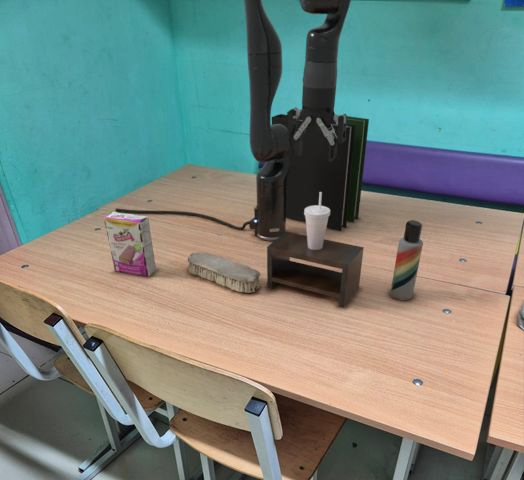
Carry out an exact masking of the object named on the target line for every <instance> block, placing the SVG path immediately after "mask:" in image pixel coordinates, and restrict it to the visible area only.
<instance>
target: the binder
mask: <svg viewBox="0 0 524 480" xmlns="http://www.w3.org/2000/svg"><path fill="white" fill-rule="evenodd" d="M297 109H298V108H297ZM298 110H300V109H298ZM286 113H287V114H285V113H279V114H276V115H273V116H271V125H274V124H281V125H283V126H285V127H286V128H287V129H288V117H289V110H288V111H287V112H286ZM369 121H370V119H369V118H364V117H356V116H350V115H347V126H346V140H345V141H344V142H342V143H341V144H337V153H336V157H335V158H334V159H333V160H332V161H328V151H329V145H330V143H329V141H328V139H327V138H326V137H325V136H324V134H323V132H322V133H317V132H315V131H313V132H309V130H307V131H306V132H305V133H304V135H303V136H302V139H303V146H302V154H301V155H300V156H296V153H295V152H294V142H295V140H294V138H293V137H291V136H290V139H291V155H290V169H289V173H288V176H287V185H286V219H288V220H293V221H295V222H296V221H297V222H301V223H304V224H306V216H305V215H304V209H305V208H306V207H309V206H314V205H319V192H322V198H321V206H325V207H327V208H329V209H330V216H329V217H328V222H327V227H326V229H329V230H334V231H338V232H342V228H344V229H346V228H347V222H350V223H354V222H355V219H356V220H358V219H359V217H360V216H359V213H360V205H361V196H362V187H363V178H364V170H365V159H366V151H367V150H366V149H367V142H368V132H369V123H370V122H369ZM302 124H303V121H302V119H301V117H300V116H299V118H298V119H297V126H296V131H298V129H299V128H300V126H301V125H302ZM332 126H333V128H334V130H335V134H336V136H337V132H338V125H336V121H335V120H334V121H333V122H332Z"/></svg>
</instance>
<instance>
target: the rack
mask: <svg viewBox="0 0 524 480" xmlns="http://www.w3.org/2000/svg"><path fill="white" fill-rule="evenodd" d="M364 250H365V249H364V246H360V245H354V244H350V243H344V242H340V241H335V240H331V239H330V240H329V239H325V238H324V242H323V247H322V249H319V250H312V249H309V248H308V241H307V234H301V233H296V232H290V231H287V230H286V232H285V233H284V234H282V235H281V236H280V237H279V238H277V239H276V240H275V241H271V243H270V244H268V245H267V246H266V287H267V289H270V290H272V289H274V288H275V287H276V286H277V285H278V284H281V285H285V286H289V287H294V288H297V289H301V290H304V291H309V292H313V293H318V294H321V295H325V296H328V297H331V298H332V297H333V298H337V299H339V300H338V303H339V304H338V307H339V308H343V309H344V308H346V307H347V305H348V303H349V302H350V301H351V299H352V298H353V297H354V296H355V294H356V293H357V292H358V291H359V289H360V284H361V283H360V281H361V273H362V265H363V257H364ZM291 259H296V260H300V261H304V262H309V263H312V264H318V265H321V266H322V265H323V266H326V267H331V268H336V269H340V270H341V271H337V270H333V269H329V268H324V267H319V266H316V265H312V264H307V263H302V262H298V261H294V260H291Z"/></svg>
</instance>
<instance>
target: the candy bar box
mask: <svg viewBox="0 0 524 480" xmlns="http://www.w3.org/2000/svg"><path fill="white" fill-rule="evenodd" d="M103 221H104V226H105V231H106V236H107V239H108V240H107V241H108V244H109V250H110V254H111V258H112V259H111V260H112V263H113V269H114V272H116V273H121V274H126V275H127V274H128V275H134V276H138V277H139V276H140V277H146V278H149V277H151V275H153V274H154V273H155V272H156V271H157V265H156V260H155V253H154V246H153V241H152V240H153V239H152V233H151V227H150V221H149V217H148V216H146V215H139V214H134V213H127V212H120V211H112V212H110V213H108V214H107V215H105V216H104V217H103Z"/></svg>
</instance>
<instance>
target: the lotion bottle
mask: <svg viewBox="0 0 524 480" xmlns="http://www.w3.org/2000/svg"><path fill="white" fill-rule="evenodd" d="M422 229H423V224H422V223H421V222H420V221H417V220H415V219H411V220H408V221H406V223H405V227H404V233H403V237H401V238H399V241H398V243H397V244H398V245H397V251H396V256H395V263H394V267H393V268H394V269H393V273H392V274H393V275H392V281H391V288H390V295H391V297H393V298H394V299H395V300H400V301H406V300H410V299H411V298H413V295H414V291H415V286H416V281H417V275H418V270H419V265H420V261H421V256H422V250H423V245H424V241H423V240H422V239H421V234H422Z"/></svg>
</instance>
